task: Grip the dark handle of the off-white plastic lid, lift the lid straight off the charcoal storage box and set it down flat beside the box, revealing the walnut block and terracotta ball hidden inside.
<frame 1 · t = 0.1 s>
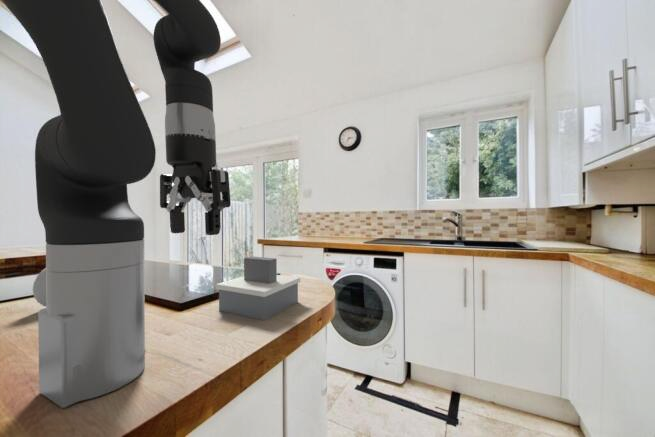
hand: (194, 233, 45), 17 cm above the table, tool pointing down, fingers open, 8 cm apart
box: (260, 307, 59), on the table
donut: (60, 307, 60), on the table
walnut block: (244, 307, 58), resting on box
lid: (260, 287, 59), point 4 cm above the table, touching box
terracotta ball: (276, 304, 60), resting on box
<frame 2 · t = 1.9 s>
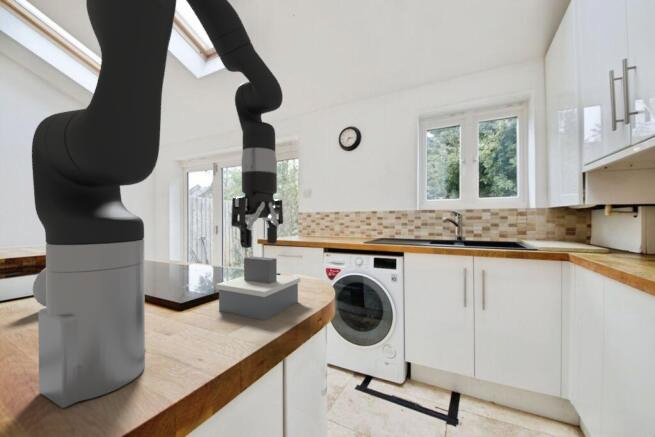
hand: (260, 245, 59), 14 cm above the table, tool pointing down, fingers open, 8 cm apart
nothing on the table moved.
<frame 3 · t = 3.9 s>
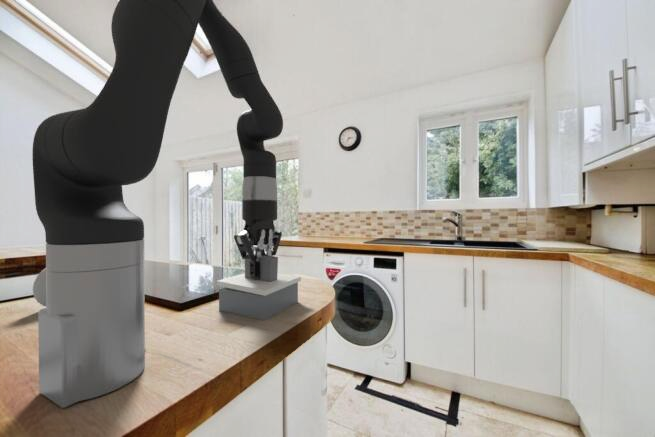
hand: (260, 276, 59), 7 cm above the table, tool pointing down, fingers closed on lid, 2 cm apart
lid: (260, 285, 59), point 5 cm above the table, touching gripper
everything else where it was.
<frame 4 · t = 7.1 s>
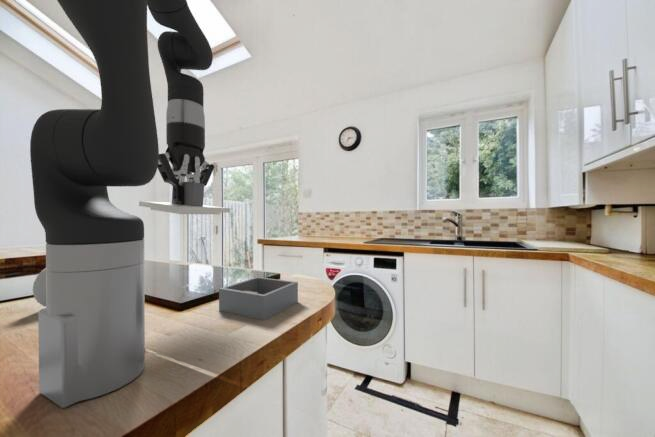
hand: (186, 204, 59), 23 cm above the table, tool pointing down, fingers closed on lid, 2 cm apart
lid: (186, 212, 59), point 21 cm above the table, tilted 6°, touching gripper
everything else where it was.
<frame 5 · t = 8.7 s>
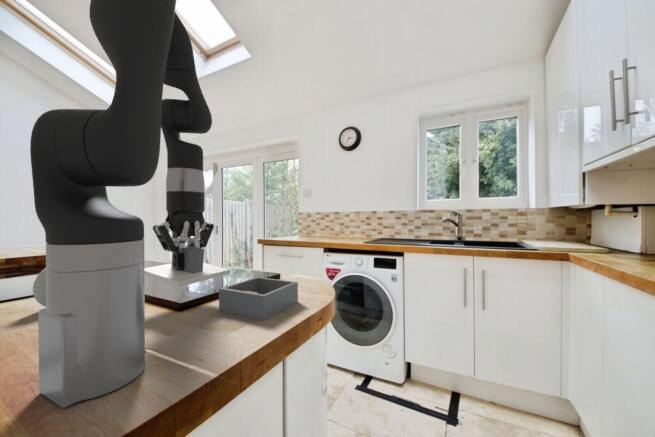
hand: (186, 268, 59), 9 cm above the table, tool pointing down, fingers closed on lid, 2 cm apart
lid: (186, 276, 59), point 7 cm above the table, tilted 6°, touching gripper
everything else where it was.
when the fingers open (4 cm above the table, at t = 10.3 s): lid drops 2 cm, on the table.
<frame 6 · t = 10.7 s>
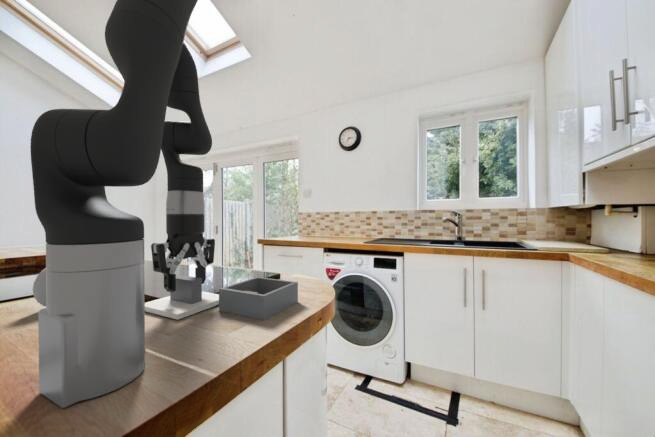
hand: (186, 287, 59), 4 cm above the table, tool pointing down, fingers open, 6 cm apart
lid: (186, 307, 59), on the table
everything else where it was.
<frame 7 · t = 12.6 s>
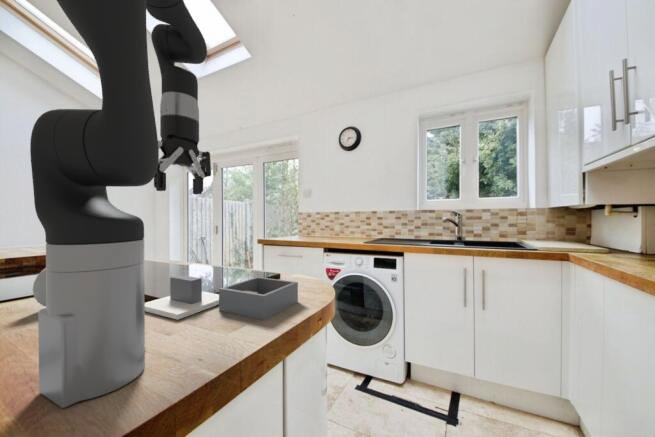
hand: (180, 192, 59), 25 cm above the table, tool pointing down, fingers open, 8 cm apart
nothing on the table moved.
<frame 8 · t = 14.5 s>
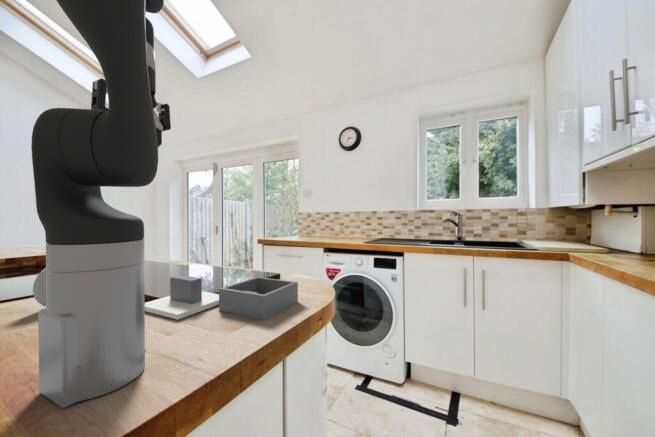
hand: (135, 142, 57), 36 cm above the table, tool pointing down, fingers open, 8 cm apart
nothing on the table moved.
at the end: lid inside the target area (0.1 cm from its centre), on the table; lid touching table; lid tilted 0° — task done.
